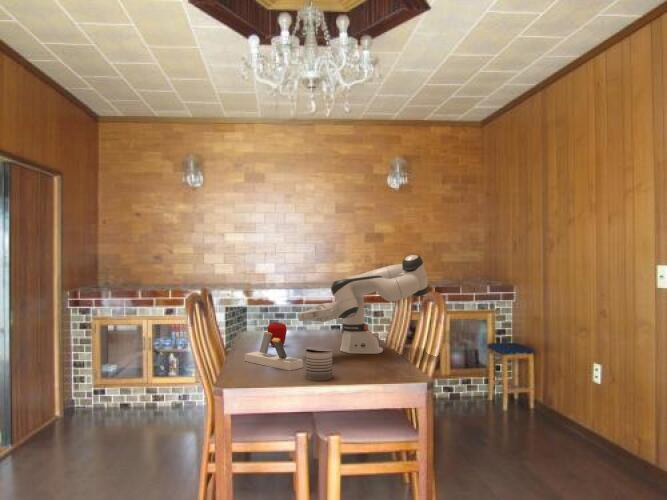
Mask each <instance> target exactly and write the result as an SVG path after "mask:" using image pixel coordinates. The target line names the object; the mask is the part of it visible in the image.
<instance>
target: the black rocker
mask: <svg viewBox="0 0 667 500" xmlns="http://www.w3.org/2000/svg"><path fill="white" fill-rule="evenodd" d="M272 341H273V344H274V346H273V347H274V349H275V351H276V353H277V354H276V355H278V356H279V358H283V359H285V358H286V357H288V356H287V353H286V351H285V348H284V344H283V345H282V343H281V340H280V339H279V338H273V339H272Z"/></svg>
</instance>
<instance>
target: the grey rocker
mask: <svg viewBox="0 0 667 500" xmlns="http://www.w3.org/2000/svg"><path fill="white" fill-rule="evenodd" d="M271 336H272V333H270V332H268V331H263V337H262V341H261V344H260V348H259V351H258V352H260V353H265V354H267V353H268V351H269V348H270V345H271V344H270V340H271Z"/></svg>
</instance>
